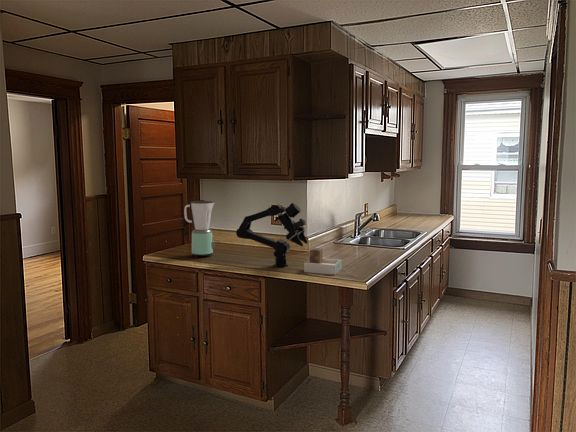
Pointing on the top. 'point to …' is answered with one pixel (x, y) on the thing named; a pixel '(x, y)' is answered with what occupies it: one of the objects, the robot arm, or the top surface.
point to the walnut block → (315, 255)
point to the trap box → (324, 266)
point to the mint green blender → (201, 227)
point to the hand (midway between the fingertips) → (304, 244)
